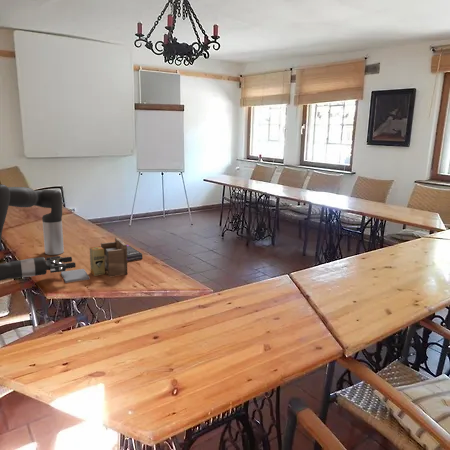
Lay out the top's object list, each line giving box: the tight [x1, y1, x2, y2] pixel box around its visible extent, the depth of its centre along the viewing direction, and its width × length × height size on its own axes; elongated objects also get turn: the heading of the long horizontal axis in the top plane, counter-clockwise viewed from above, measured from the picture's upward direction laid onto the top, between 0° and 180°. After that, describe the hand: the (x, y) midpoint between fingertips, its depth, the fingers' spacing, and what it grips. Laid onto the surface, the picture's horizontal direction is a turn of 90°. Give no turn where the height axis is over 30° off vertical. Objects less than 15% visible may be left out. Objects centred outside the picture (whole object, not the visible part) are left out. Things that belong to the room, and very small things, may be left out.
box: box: [126, 244, 143, 262], centre depth 208 cm, size 14×4×20 cm
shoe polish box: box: [89, 245, 106, 277], centre depth 182 cm, size 5×5×12 cm
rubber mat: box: [60, 268, 91, 284], centre depth 178 cm, size 12×10×1 cm
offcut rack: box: [100, 237, 128, 278], centre depth 185 cm, size 14×8×14 cm, turn 30°
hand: (73, 261), depth 177 cm, fingers open, 8 cm apart
